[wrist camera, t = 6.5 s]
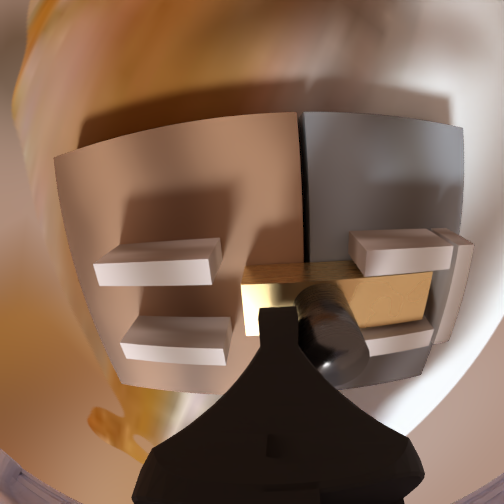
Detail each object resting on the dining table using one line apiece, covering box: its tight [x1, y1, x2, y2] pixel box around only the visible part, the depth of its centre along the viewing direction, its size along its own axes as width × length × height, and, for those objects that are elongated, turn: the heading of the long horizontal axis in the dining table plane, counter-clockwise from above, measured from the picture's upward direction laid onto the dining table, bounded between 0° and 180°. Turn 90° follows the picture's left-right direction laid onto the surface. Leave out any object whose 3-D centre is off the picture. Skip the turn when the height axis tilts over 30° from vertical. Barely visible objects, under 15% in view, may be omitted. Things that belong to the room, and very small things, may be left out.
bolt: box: [241, 260, 433, 387], centre depth 10 cm, size 8×2×5 cm, turn 95°
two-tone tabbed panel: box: [54, 112, 474, 395], centre depth 12 cm, size 20×15×4 cm
